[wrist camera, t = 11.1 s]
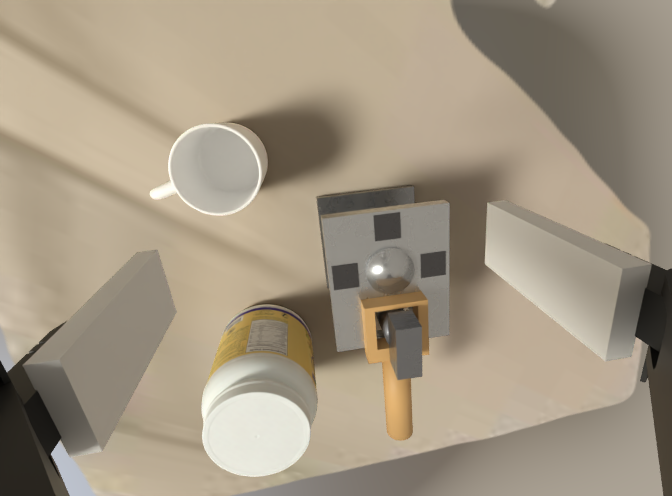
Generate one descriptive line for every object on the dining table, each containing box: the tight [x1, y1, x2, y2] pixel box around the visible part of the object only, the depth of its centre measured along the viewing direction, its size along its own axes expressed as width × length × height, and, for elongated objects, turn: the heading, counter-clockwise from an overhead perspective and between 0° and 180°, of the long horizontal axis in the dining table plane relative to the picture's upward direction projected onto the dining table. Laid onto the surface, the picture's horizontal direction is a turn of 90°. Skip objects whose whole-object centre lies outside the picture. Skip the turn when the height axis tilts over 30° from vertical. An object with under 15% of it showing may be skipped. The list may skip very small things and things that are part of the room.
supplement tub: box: [202, 304, 318, 477], centre depth 44 cm, size 12×12×17 cm
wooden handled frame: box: [361, 291, 429, 440], centre depth 42 cm, size 17×6×5 cm, turn 6°
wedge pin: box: [375, 308, 422, 380], centre depth 42 cm, size 6×3×16 cm, turn 5°
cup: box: [150, 123, 268, 216], centre depth 39 cm, size 8×12×10 cm
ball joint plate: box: [316, 185, 450, 352], centre depth 43 cm, size 15×12×12 cm
